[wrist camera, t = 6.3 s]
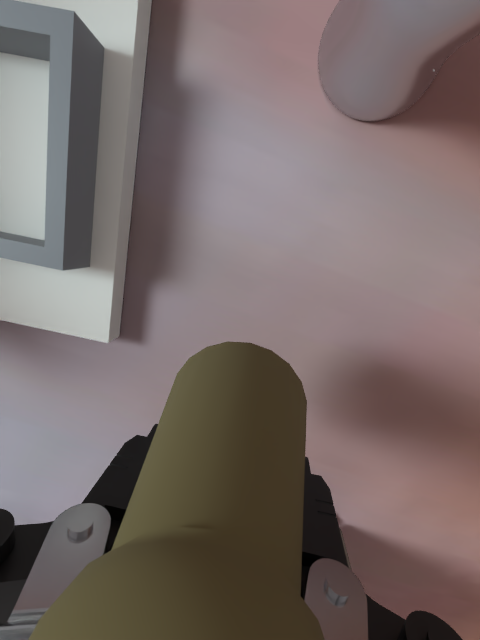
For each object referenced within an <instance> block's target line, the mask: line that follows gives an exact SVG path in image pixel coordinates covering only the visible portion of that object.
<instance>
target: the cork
mask: <svg viewBox="0 0 480 640" xmlns="http://www.w3.org/2000/svg"><path fill="white" fill-rule="evenodd" d="M306 410H307V400H306V397H305V393H304V389H303V386H302V382H301V380H300V379H299V377H298V376H297V375H296V373H295V372H294V370H293V369H292V367H291V366H290V364H288V363H287V362H286V361H285V360H283V359H282V358H281V357H279V356H278V355H277V354H275V353H274V352H273V351H271V350H268V349H266V348H263V347H260V346H258V345H255V344H252V343H243V342H225V343H221V344H217V345H213V346H209V347H206V348H204V349H203V350H201V351H200V352H198V353H197V354H195V355H194V356H192V357H191V358H189V359H188V361H187V362H186V363H185V364H184V366H183V367H182V368H181V370H180V371H179V372H178V373H177V376H176V378H175V381H174V384H173V386H172V389H171V392H170V394H169V397H168V400H167V402H166V405H165V408H164V410H163V413H162V416H161V418H160V421H159V424H158V426H157V429H156V432H155V434H154V437H153V440H152V443H151V445H150V448H149V451H148V453H147V456H146V459H145V461H144V464H143V467H142V469H141V472H140V475H139V477H138V480H137V483H136V485H135V488H134V491H133V493H132V496H131V499H130V501H129V504H128V507H127V509H126V512H125V515H124V517H123V520H122V523H121V525H120V528H119V531H118V533H117V536H116V539H115V541H114V544H113V547H112V549H111V551H109V552H108V553H106V554H104V555H102V556H100V557H99V558H97V559H95V560H93V561H92V562H90V563H88V564H87V565H86V567H85V568H84V569H83V570H82V571H81V572H80V573H79V574H78V576H77V577H76V578H75V579H74V580H73V581H72V582H71V584H70V585H69V586H68V587H67V588H66V589H65V590H64V591H63V593H62V594H61V595H60V596H59V597H58V598H57V599H56V601H55V602H54V603H53V604H52V605H51V606H50V608H49V609H48V610H47V611H46V612H45V613H44V615H43V616H42V617H41V618H40V619H39V620H38V623H37V625H36V627H35V629H34V631H33V632H32V634H31V636H30V637H29V639H28V640H325V639H324V636H323V633H322V630H321V627H320V624H319V621H318V619H317V617H316V616H315V615H314V613H313V612H312V611H311V609H310V608H309V607H308V605H307V604H306V603H305V601H304V600H303V599H302V597H301V569H302V537H303V505H304V473H305V442H306Z"/></svg>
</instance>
